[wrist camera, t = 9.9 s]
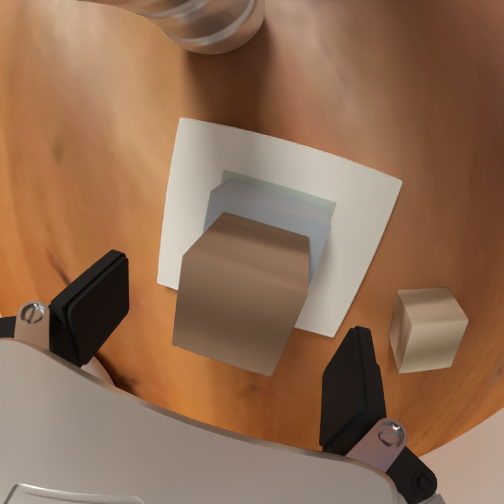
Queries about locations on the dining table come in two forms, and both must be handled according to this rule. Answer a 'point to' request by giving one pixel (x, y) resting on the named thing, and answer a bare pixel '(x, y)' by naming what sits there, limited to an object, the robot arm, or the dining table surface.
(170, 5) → the plastic bottle
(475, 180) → the dining table surface
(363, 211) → the board
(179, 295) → the walnut block
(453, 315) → the birch block
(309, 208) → the base block
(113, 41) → the dining table surface
